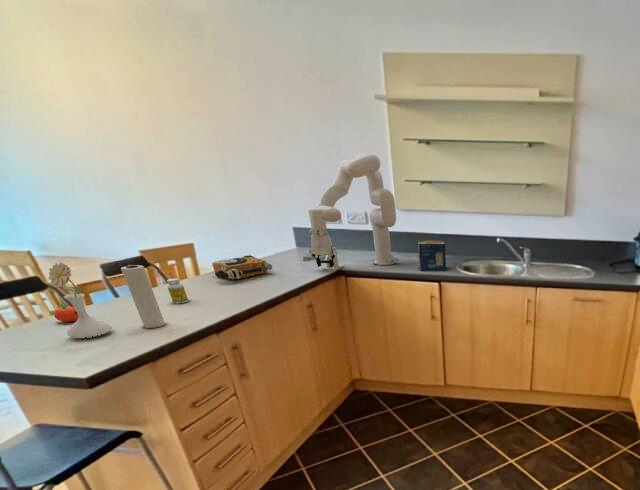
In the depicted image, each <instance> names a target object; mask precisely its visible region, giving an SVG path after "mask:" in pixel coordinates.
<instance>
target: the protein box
mask: <svg viewBox="0 0 640 490" xmlns="http://www.w3.org/2000/svg"><path fill="white" fill-rule="evenodd" d="M417 250H418V251H417V252H418V264H419V270H420V272H428V271H430V272H432V271H433V272H435V271H447V259H446V258H447V257H446V256H447V255H446V254H447V253H446V243H445V242H444V240H417Z"/></svg>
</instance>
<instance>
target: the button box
mask: <svg viewBox="0 0 640 490" xmlns="http://www.w3.org/2000/svg"><path fill="white" fill-rule="evenodd" d="M319 258H320V260H325V255H320V256H319ZM302 260H303V261H309V262H310V261H313V260H315V261H316V259H315V258H314V257H313V256H312V255H311V254H310V253H309V254H305V255H304V256H302Z"/></svg>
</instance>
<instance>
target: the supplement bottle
mask: <svg viewBox="0 0 640 490" xmlns="http://www.w3.org/2000/svg"><path fill="white" fill-rule="evenodd" d="M166 281H167V286H166V287H167V290H168V293H169V295H170V299H171V301H172V303H173V304H184V303H188V302H189V297H188V295H187V291H186V290H185V287H184V285H183V283H181V281H180V279H179V278H177V277H176V278H168V279H167V280H166Z"/></svg>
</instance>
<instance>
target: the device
mask: <svg viewBox="0 0 640 490" xmlns="http://www.w3.org/2000/svg"><path fill="white" fill-rule="evenodd" d="M211 265H212V268H213V272H214V275H215V276H216V277H217V278H220V279H228V280H229V279H230V280H240V279H243V278H249V277H252V276H253V277H254V276H255V275H259V274H264V273H267V271H271V270H273V265H272V263H270V262H267V261H266V260H264V259H261V258H258V257H256V256H253V255H250V254H249V255H244V256H241V257H234V258H233V257H232V258H226V259H220V260H217V261H213V262H211Z"/></svg>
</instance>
